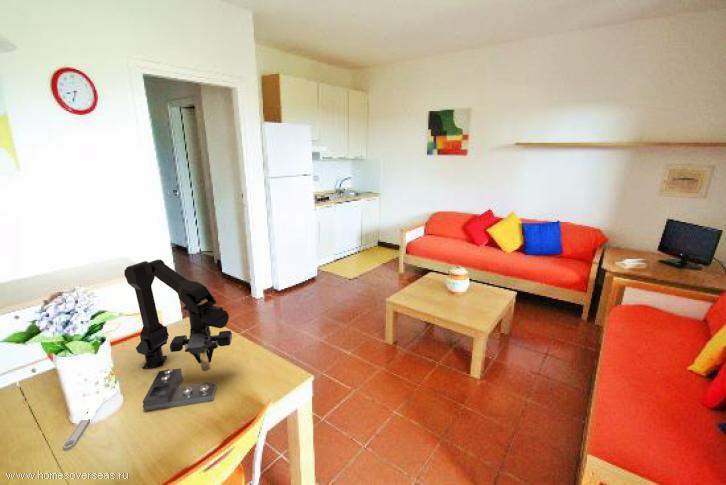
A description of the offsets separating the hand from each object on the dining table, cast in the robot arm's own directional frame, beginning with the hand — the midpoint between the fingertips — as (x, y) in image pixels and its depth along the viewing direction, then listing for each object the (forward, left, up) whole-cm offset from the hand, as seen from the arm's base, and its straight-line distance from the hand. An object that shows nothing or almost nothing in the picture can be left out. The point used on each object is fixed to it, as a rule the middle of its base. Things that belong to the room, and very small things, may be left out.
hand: (205, 362), depth 120 cm
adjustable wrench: (+11, -32, -7) cm, 34 cm away
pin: (0, 0, -3) cm, 3 cm away
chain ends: (+5, -6, -6) cm, 10 cm away
